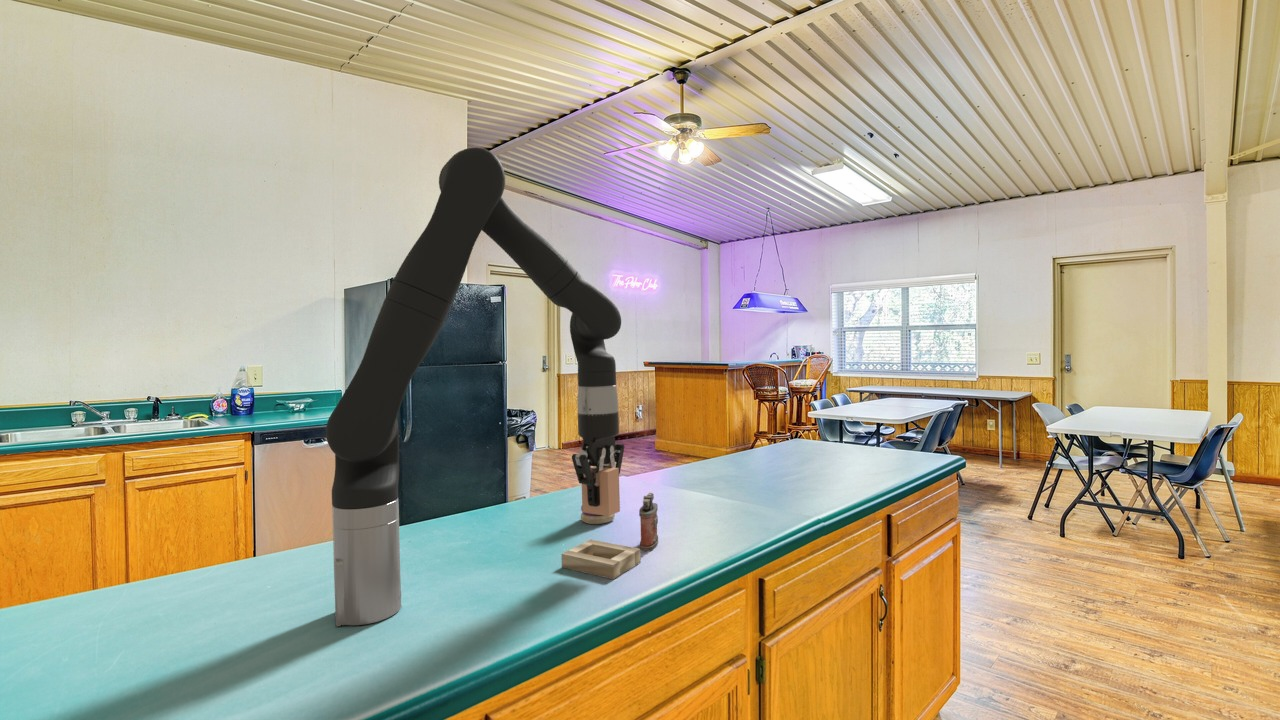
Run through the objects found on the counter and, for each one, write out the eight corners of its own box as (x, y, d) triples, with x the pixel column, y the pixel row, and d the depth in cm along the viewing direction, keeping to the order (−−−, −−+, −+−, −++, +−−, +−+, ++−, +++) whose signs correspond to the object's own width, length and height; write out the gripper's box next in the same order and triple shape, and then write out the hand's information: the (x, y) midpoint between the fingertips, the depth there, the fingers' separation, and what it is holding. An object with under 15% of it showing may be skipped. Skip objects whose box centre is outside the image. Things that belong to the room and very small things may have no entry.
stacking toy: (621, 518, 136) (619, 439, 136) (601, 527, 129) (599, 444, 129) (594, 513, 140) (592, 437, 140) (573, 522, 134) (571, 441, 133)
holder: (613, 579, 100) (613, 564, 100) (561, 567, 106) (561, 553, 106) (640, 562, 108) (640, 549, 107) (590, 552, 114) (590, 539, 113)
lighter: (654, 551, 113) (653, 501, 113) (637, 550, 114) (636, 500, 113) (660, 538, 121) (659, 491, 121) (644, 537, 122) (643, 490, 121)
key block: (609, 516, 103) (607, 471, 103) (582, 512, 106) (581, 469, 106) (620, 511, 106) (618, 468, 106) (593, 507, 109) (592, 465, 109)
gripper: (591, 415, 98) (594, 515, 98) (635, 406, 110) (638, 496, 110) (557, 413, 102) (560, 510, 102) (603, 405, 114) (606, 492, 114)
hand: (600, 502), depth 106 cm, fingers closed on key block, 3 cm apart
